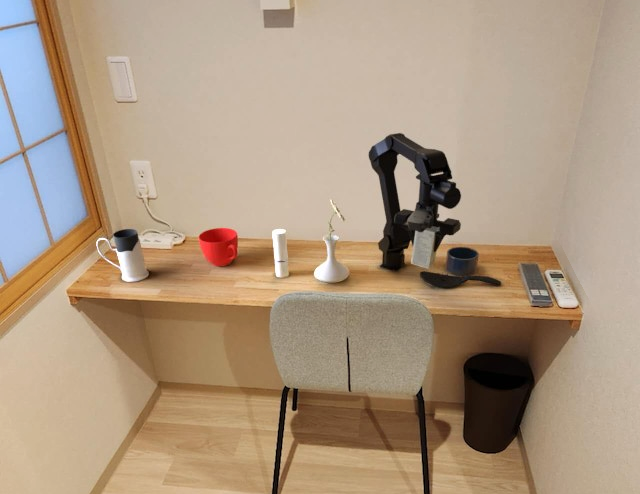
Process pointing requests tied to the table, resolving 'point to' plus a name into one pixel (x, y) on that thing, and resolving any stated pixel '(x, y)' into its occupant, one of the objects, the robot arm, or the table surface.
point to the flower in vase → (331, 257)
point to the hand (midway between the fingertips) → (424, 249)
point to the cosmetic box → (424, 248)
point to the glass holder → (128, 255)
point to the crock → (461, 260)
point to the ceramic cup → (219, 245)
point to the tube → (280, 252)
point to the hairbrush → (453, 279)
